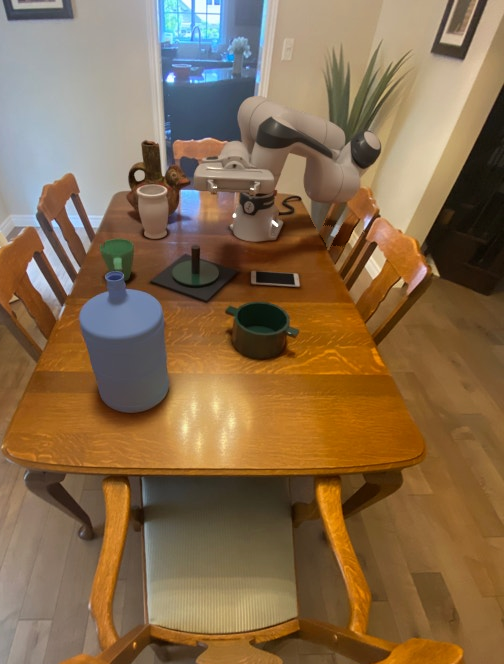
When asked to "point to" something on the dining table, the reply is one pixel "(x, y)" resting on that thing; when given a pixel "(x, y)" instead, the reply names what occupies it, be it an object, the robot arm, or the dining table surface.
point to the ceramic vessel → (156, 177)
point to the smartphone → (275, 279)
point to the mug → (118, 256)
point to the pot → (260, 329)
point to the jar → (153, 210)
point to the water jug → (126, 346)
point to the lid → (195, 270)
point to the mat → (195, 292)
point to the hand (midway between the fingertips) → (233, 192)
